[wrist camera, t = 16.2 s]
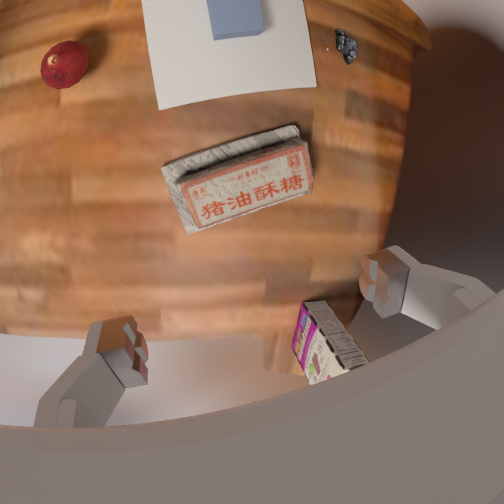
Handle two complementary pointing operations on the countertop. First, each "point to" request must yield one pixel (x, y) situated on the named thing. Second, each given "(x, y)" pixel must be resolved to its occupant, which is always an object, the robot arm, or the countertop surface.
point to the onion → (64, 64)
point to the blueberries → (346, 46)
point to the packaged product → (239, 177)
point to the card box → (235, 18)
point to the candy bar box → (324, 343)
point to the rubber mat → (225, 52)
